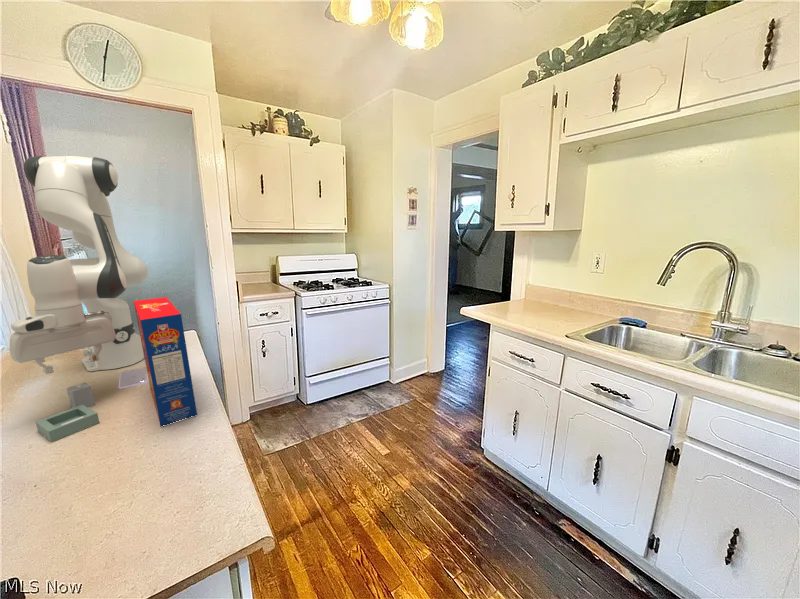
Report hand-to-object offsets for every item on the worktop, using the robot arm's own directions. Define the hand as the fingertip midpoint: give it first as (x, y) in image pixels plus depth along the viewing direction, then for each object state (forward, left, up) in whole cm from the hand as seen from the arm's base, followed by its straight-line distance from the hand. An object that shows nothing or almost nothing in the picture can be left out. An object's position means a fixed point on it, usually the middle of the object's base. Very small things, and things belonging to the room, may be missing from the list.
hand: (73, 366), depth 91 cm
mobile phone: (-10, +16, -13) cm, 23 cm away
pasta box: (+18, +14, -12) cm, 26 cm away
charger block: (-1, 0, -12) cm, 12 cm away
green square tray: (+9, -6, -12) cm, 16 cm away
